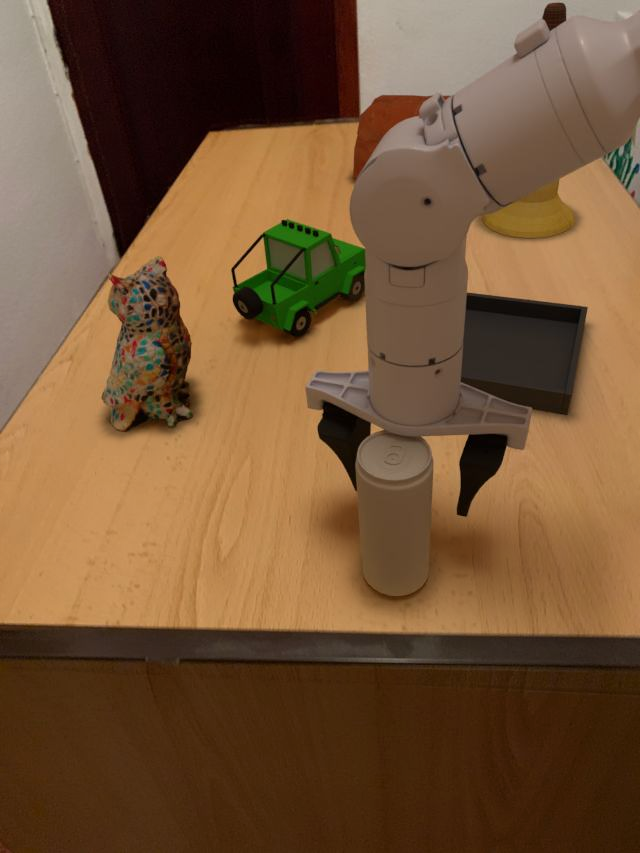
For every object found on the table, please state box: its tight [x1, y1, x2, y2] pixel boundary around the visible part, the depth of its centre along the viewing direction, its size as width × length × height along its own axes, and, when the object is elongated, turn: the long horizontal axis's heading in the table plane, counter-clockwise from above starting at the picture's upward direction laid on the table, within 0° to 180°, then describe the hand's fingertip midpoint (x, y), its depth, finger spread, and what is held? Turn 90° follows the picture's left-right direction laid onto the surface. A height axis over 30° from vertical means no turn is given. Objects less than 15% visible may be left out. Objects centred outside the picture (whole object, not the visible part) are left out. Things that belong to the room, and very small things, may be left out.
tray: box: [461, 291, 589, 415], centre depth 66 cm, size 15×15×2 cm
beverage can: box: [355, 429, 435, 597], centre depth 44 cm, size 5×5×12 cm
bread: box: [352, 94, 452, 181], centre depth 102 cm, size 16×27×11 cm, turn 72°
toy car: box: [230, 218, 366, 338], centre depth 73 cm, size 8×17×10 cm, turn 137°
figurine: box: [100, 255, 194, 432], centre depth 60 cm, size 9×9×15 cm
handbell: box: [481, 2, 576, 239], centre depth 82 cm, size 12×12×25 cm
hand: (412, 494), depth 48 cm, fingers open, 7 cm apart
